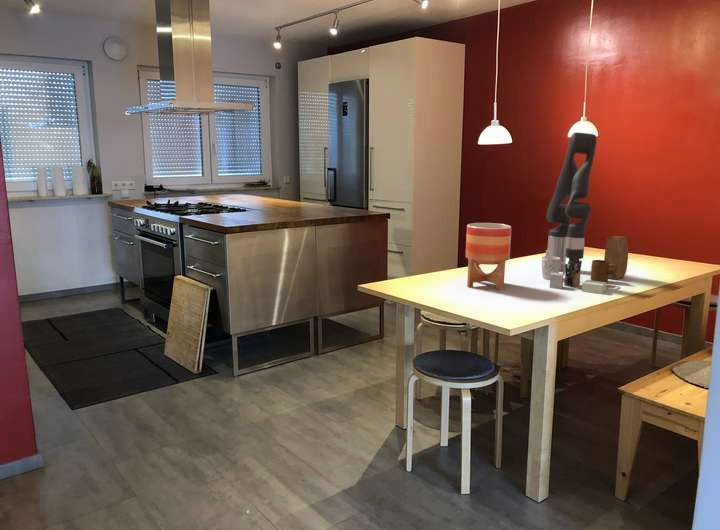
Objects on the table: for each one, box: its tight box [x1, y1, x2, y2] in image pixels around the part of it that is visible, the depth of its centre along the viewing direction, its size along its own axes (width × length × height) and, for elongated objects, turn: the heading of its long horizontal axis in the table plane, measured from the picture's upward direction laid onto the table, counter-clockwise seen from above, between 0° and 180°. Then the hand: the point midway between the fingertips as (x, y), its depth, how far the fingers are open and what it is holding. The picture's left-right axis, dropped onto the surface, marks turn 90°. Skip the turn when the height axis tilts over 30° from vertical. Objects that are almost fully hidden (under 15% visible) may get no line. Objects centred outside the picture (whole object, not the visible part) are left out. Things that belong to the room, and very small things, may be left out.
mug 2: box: [590, 259, 618, 283], centre depth 267 cm, size 12×8×9 cm, turn 39°
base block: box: [581, 279, 607, 295], centre depth 249 cm, size 8×8×4 cm
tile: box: [606, 283, 621, 291], centre depth 256 cm, size 7×7×1 cm
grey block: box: [549, 272, 565, 290], centre depth 255 cm, size 5×5×6 cm
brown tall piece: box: [603, 235, 629, 280], centre depth 275 cm, size 11×8×20 cm
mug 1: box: [541, 255, 567, 281], centre depth 272 cm, size 11×8×10 cm
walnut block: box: [563, 271, 581, 288], centre depth 259 cm, size 5×5×6 cm
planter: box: [465, 222, 512, 291], centre depth 256 cm, size 20×20×27 cm
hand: (571, 284), depth 259 cm, fingers closed on walnut block, 5 cm apart
